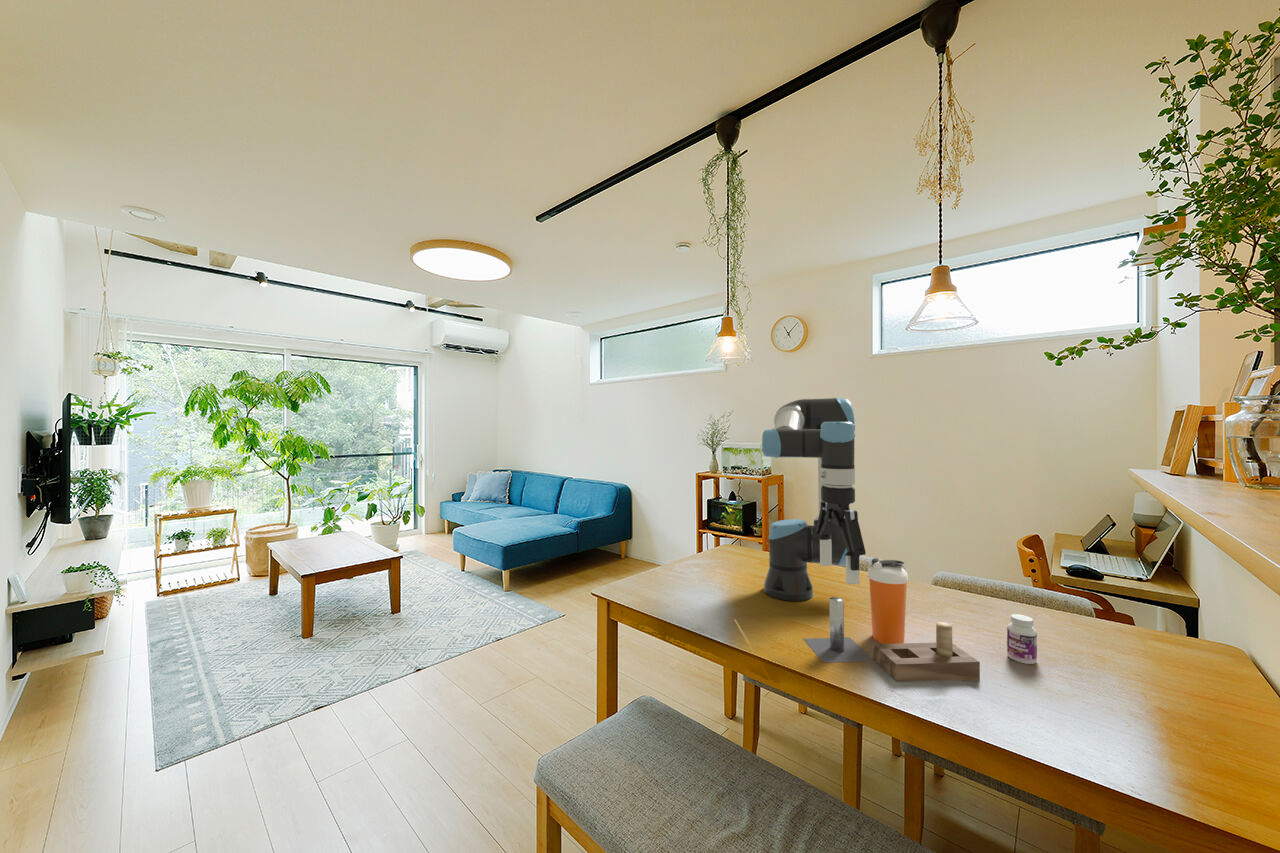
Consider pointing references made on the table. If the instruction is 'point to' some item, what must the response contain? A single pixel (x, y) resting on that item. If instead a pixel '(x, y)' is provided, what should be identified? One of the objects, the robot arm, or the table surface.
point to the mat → (828, 656)
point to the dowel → (944, 639)
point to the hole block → (925, 663)
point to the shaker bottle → (888, 600)
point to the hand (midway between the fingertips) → (838, 574)
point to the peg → (837, 624)
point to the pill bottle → (1022, 639)
